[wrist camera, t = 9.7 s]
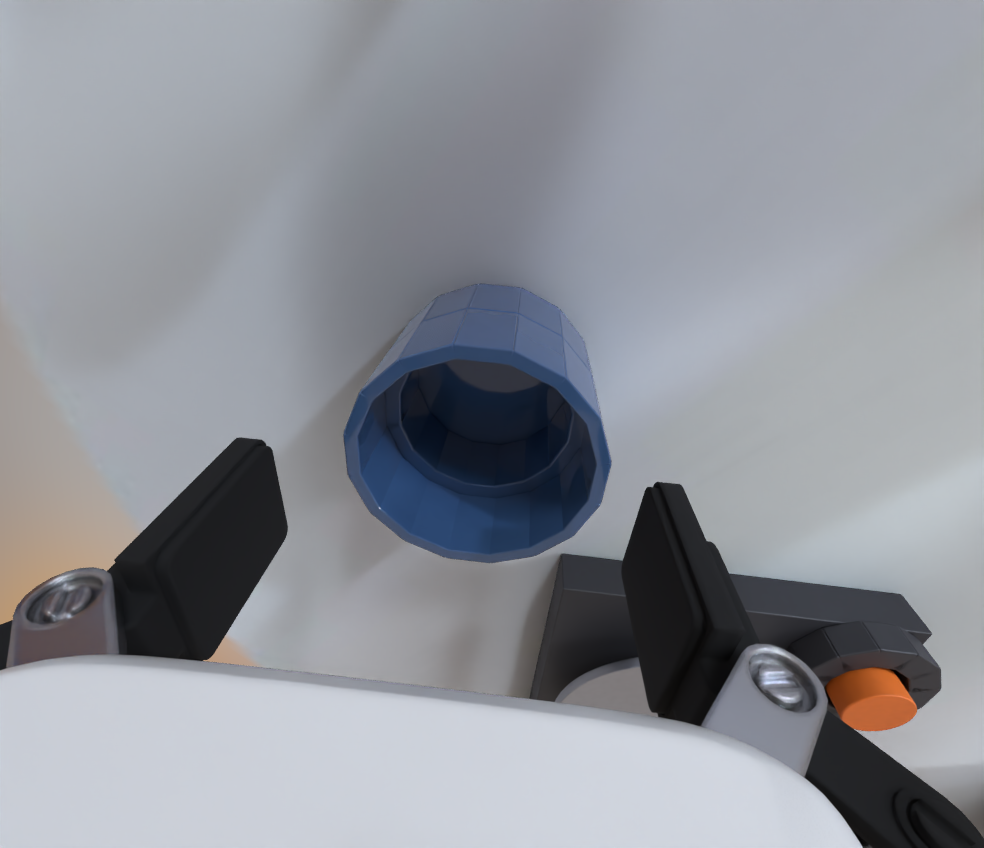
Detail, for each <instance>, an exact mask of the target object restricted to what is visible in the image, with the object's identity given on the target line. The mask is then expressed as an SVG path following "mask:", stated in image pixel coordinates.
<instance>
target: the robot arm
mask: <svg viewBox="0 0 984 848" xmlns="http://www.w3.org/2000/svg"><path fill="white" fill-rule="evenodd" d="M287 530H288V525H287V520H286V515H285V510H284V505H283V500H282V495H281V490H280V486H279V481H278V476H277V471H276V466H275V461H274V456H273V451H272V449H271V447H269V446H266V443H265V442H264V441H263V440H258V439H249V438H236V439H235V440H234V441H233V442H232V443H231V444H230V445H229V446H228V447H227V448H226V449H225V450H224V451H223V452H222V453H221V454H220V455H219V456H218V457H217V458H216V459H215V460H214V461H213V462H212V463H211V464H210V465H209V466H208V467H207V468H206V469H205V470H204V471H203V472H202V473H201V474H200V475H199V476H198V477H197V478H196V479H195V480H194V481H193V482H192V483H191V484H190V485H189V486H188V487H187V488H186V489H185V490H184V491H183V492H182V493H181V494H180V495H179V496H178V497H177V498H176V499H175V500H174V501H173V502H172V503H171V504H170V505H169V506H168V507H167V508H166V509H165V510H164V511H163V512H162V513H161V514H160V515H159V516H158V517H157V518H156V519H155V520H154V521H153V522H152V523H151V524H150V525H149V526H148V527H147V528H146V529H145V530H144V531H143V532H142V533H141V534H140V535H139V536H138V537H137V538H136V539H135V540H134V541H133V542H132V543H131V544H130V545H129V546H128V547H127V548H126V549H125V550H124V551H123V552H122V553H121V554H120V555H119V556H118V557H117V558H116V559H115V562H116V563H115V564H114V565H113V566H112V567H111V568H110V569H109V570H108V571H105V570H104V569H99V568H80V569H75V570H71V571H67V572H65V573H62V574H59V575H57V576H54V577H52V578H50V579H48V580H47V581H45V582H43V583H42V584H40V585H38V586H37V587H36V588H34V589H33V590H32V591H30V592H29V593H28V594H27V595H26V596H25V597H24V598H23V599H22V600H21V602H20V603H19V604H18V605H17V607H16V610H15V612H14V615H13V620H11V621H9V622H6V623H4V624H1V625H0V848H984V839H983V837H982V836H981V834H980V833H979V831H978V830H977V828H976V827H975V826H974V825H973V824H972V823H971V822H970V820H969V819H968V818H967V817H966V816H965V815H964V814H963V813H962V812H961V811H960V810H959V809H958V808H957V807H956V806H955V805H953V804H952V803H951V802H950V801H949V800H948V799H946V798H945V797H944V796H943V795H941V794H940V793H939V792H937V791H936V790H935V789H933V788H932V787H930V786H929V785H928V784H926V783H925V782H924V781H922V780H921V779H920V778H918V777H917V776H916V775H914V774H913V773H912V772H910V771H909V770H908V769H906V768H905V767H904V766H902V765H901V764H900V763H898V762H897V761H896V760H894V759H893V758H892V757H890V756H889V755H888V754H886V753H885V752H883V751H882V750H881V749H879V748H878V747H877V746H875V745H874V744H873V743H871V742H870V741H869V740H867V739H866V738H865V737H863V736H862V735H861V734H859V733H858V732H857V731H855V730H854V729H853V728H851V727H850V726H849V725H847V724H846V723H845V722H843V721H842V720H841V719H839V718H838V717H836V716H835V715H834V714H832V713H831V712H830V711H828V710H827V702H828V699H827V696H826V693H825V689H824V687H823V685H822V684H821V682H820V680H819V679H818V677H817V676H816V674H815V673H814V672H813V671H812V670H811V669H810V668H809V667H808V666H807V665H806V664H805V663H804V662H803V661H801V660H800V659H799V658H797V657H796V656H795V655H793V654H791V653H790V652H788V651H786V650H784V649H782V648H780V647H776V646H773V645H769V644H761V643H760V641H759V639H758V637H757V634H756V632H755V630H754V628H753V626H752V623H751V621H750V619H749V617H748V615H747V612H746V610H745V608H744V606H743V604H742V601H741V599H740V597H739V595H738V593H737V591H736V588H735V586H734V584H733V582H732V580H731V577H730V575H729V573H728V571H727V569H726V566H725V564H724V562H723V560H722V558H721V555H720V553H719V551H718V549H717V548H716V546H715V545H714V544H713V543H712V542H707V541H706V539H705V537H704V534H703V532H702V530H701V528H700V525H699V523H698V521H697V518H696V516H695V514H694V512H693V509H692V507H691V505H690V502H689V500H688V498H687V496H686V493H685V491H684V489H683V487H682V485H680V484H672V483H663V482H656V483H655V484H654V486H653V487H647V488H646V490H645V493H644V496H643V499H642V502H641V505H640V509H639V512H638V515H637V518H636V521H635V524H634V527H633V531H632V534H631V537H630V540H629V543H628V546H627V549H626V553H625V556H624V559H623V562H622V569H621V574H622V581H623V586H624V591H625V595H626V600H627V605H628V610H629V615H630V620H631V624H632V629H633V634H634V639H635V644H636V649H637V654H638V658H639V663H640V668H641V673H642V678H643V683H644V687H645V692H646V697H647V702H648V706H649V709H650V711H651V712H652V713H657V714H658V717H655V716H650V715H645V714H638V713H631V712H624V711H616V710H609V709H602V708H595V707H588V706H581V705H574V704H566V703H558V702H550V701H542V700H533V699H525V698H517V697H509V696H501V695H493V694H485V693H477V692H468V691H460V690H452V689H443V688H435V687H427V686H418V685H410V684H401V683H393V682H384V681H376V680H367V679H359V678H350V677H341V676H333V675H324V674H315V673H306V672H297V671H288V670H280V669H271V668H262V667H253V666H244V665H234V664H226V663H217V662H205V661H203V660H207V659H209V658H210V657H211V656H212V655H213V654H214V653H215V651H216V649H217V648H218V646H219V645H220V643H221V641H222V640H223V638H224V636H225V635H226V633H227V632H228V630H229V628H230V627H231V625H232V624H233V622H234V620H235V619H236V617H237V616H238V614H239V612H240V611H241V609H242V608H243V606H244V604H245V603H246V601H247V600H248V598H249V596H250V595H251V593H252V592H253V590H254V588H255V587H256V585H257V584H258V582H259V580H260V579H261V577H262V575H263V574H264V572H265V571H266V569H267V567H268V566H269V564H270V563H271V561H272V559H273V558H274V556H275V555H276V553H277V551H278V550H279V548H280V547H281V545H282V543H283V542H284V540H285V538H286V535H287Z"/></svg>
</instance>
